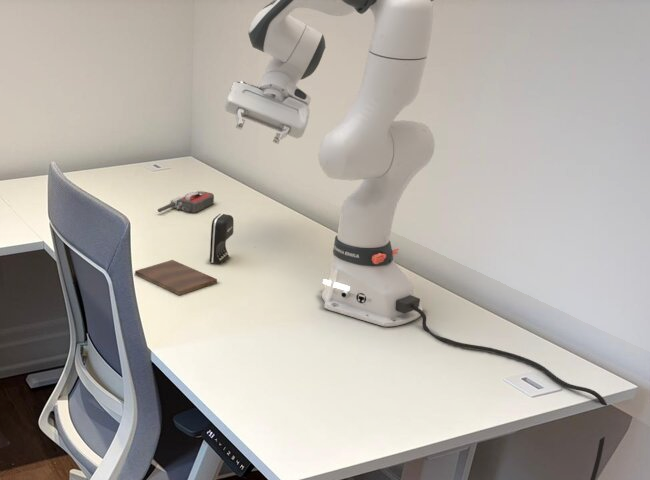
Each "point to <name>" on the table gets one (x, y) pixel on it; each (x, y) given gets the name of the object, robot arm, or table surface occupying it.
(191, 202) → the walkie-talkie
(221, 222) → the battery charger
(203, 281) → the board
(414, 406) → the table surface
